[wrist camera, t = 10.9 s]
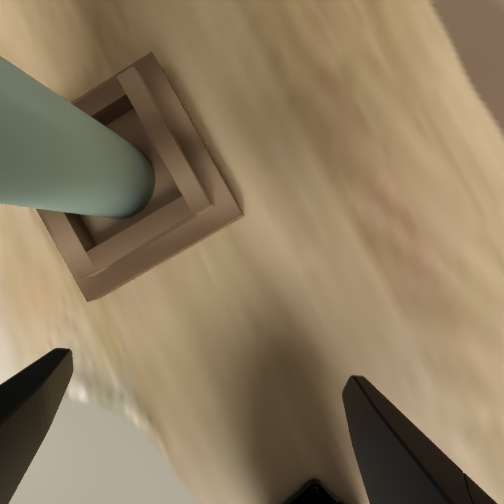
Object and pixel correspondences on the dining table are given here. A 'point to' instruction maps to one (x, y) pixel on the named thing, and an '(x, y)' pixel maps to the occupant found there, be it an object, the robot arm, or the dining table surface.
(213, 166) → the brown wooden square tray
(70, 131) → the cup
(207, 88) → the dining table surface
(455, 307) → the dining table surface
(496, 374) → the dining table surface
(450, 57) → the dining table surface
